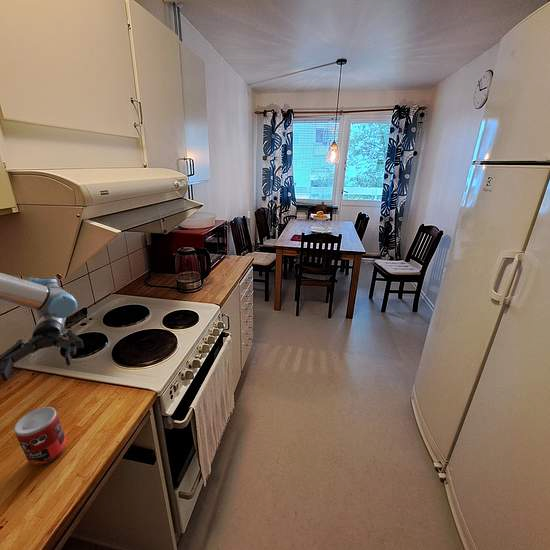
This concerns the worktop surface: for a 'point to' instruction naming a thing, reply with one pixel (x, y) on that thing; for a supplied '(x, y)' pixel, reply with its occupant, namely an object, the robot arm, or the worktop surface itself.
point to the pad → (51, 460)
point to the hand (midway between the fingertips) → (37, 368)
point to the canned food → (40, 435)
